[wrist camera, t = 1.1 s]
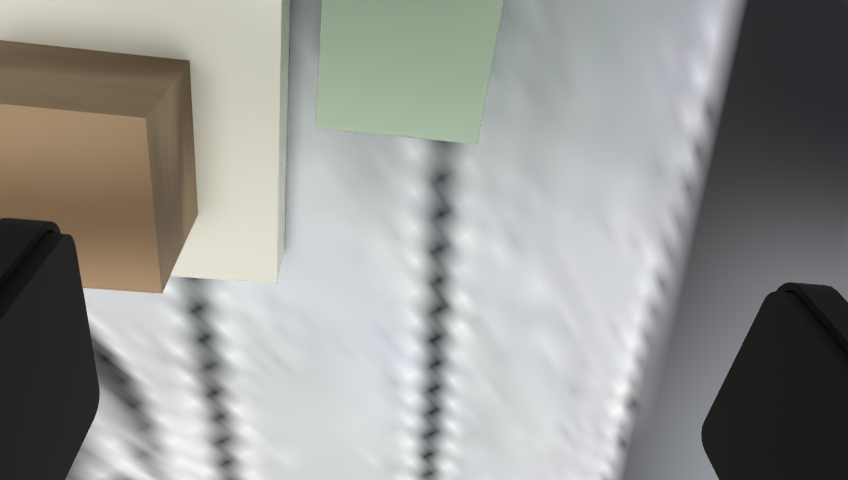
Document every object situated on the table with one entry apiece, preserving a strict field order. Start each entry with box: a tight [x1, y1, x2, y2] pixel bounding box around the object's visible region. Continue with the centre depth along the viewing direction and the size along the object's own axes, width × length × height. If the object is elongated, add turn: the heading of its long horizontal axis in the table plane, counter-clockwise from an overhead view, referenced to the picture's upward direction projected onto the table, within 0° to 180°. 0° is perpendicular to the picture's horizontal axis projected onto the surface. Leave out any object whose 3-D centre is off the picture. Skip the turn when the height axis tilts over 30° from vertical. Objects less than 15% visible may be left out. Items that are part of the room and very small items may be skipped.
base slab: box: [0, 0, 290, 284], centre depth 25 cm, size 12×12×2 cm
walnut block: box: [0, 40, 198, 293], centre depth 22 cm, size 6×6×5 cm
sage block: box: [316, 0, 504, 144], centre depth 22 cm, size 5×5×6 cm
